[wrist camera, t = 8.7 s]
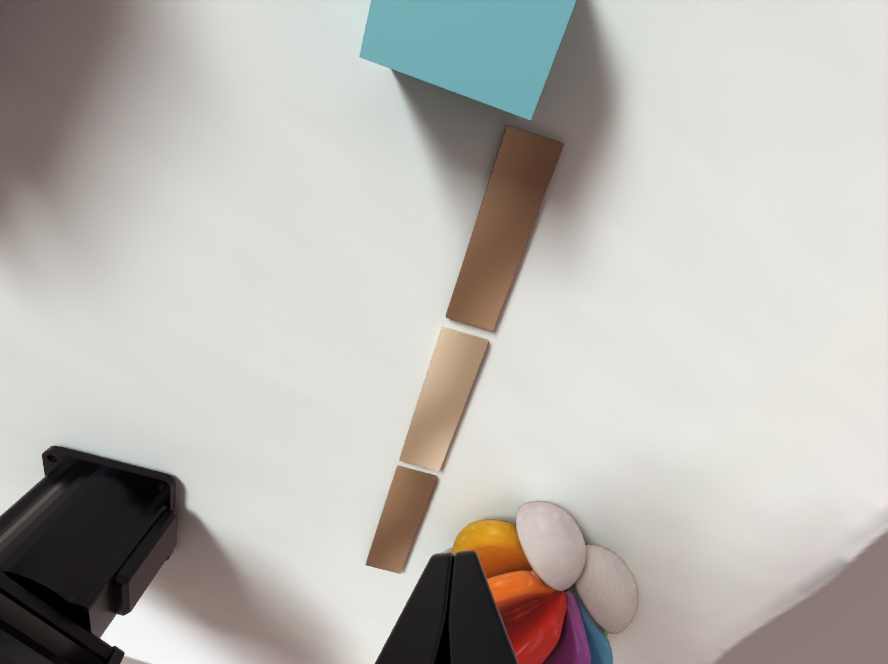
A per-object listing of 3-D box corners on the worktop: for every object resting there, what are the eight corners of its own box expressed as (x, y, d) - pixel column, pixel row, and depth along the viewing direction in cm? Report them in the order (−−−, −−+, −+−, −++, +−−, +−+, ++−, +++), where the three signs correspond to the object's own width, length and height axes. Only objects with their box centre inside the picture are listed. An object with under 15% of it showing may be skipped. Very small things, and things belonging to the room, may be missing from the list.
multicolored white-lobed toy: (529, 462, 23) (548, 609, 16) (646, 566, 25) (702, 727, 19) (409, 541, 26) (385, 690, 19) (525, 626, 29) (538, 782, 22)
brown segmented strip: (366, 560, 27) (365, 565, 26) (507, 125, 16) (507, 125, 16) (401, 568, 27) (400, 573, 26) (562, 143, 16) (564, 144, 16)
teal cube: (390, 66, 16) (359, 56, 12) (431, -104, 14) (411, -188, 10) (518, 114, 16) (530, 120, 12) (576, -46, 14) (615, -102, 10)
